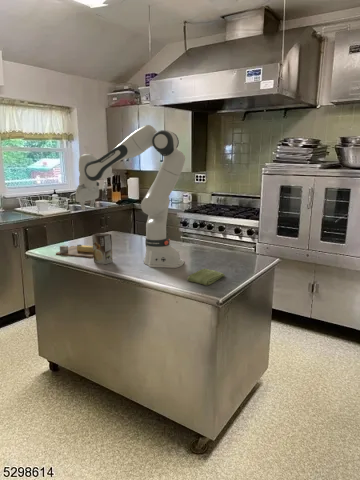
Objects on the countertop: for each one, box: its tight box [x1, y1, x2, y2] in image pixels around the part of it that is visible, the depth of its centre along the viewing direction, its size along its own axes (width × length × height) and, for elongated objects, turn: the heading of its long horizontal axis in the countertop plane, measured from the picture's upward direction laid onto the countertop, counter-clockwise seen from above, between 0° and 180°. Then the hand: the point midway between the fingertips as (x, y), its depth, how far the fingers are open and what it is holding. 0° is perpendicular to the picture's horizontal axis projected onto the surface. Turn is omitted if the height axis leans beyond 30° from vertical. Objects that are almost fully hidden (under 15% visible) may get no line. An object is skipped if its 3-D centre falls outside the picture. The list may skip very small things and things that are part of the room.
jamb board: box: [55, 244, 94, 259], centre depth 220 cm, size 24×18×5 cm
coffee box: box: [91, 232, 114, 265], centre depth 200 cm, size 9×6×16 cm
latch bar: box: [76, 244, 93, 253], centre depth 216 cm, size 14×3×4 cm, turn 75°
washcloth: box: [186, 268, 226, 286], centre depth 176 cm, size 13×18×3 cm
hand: (87, 208), depth 203 cm, fingers open, 8 cm apart
